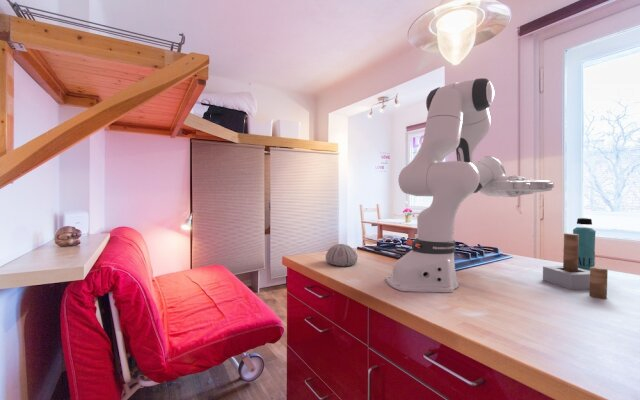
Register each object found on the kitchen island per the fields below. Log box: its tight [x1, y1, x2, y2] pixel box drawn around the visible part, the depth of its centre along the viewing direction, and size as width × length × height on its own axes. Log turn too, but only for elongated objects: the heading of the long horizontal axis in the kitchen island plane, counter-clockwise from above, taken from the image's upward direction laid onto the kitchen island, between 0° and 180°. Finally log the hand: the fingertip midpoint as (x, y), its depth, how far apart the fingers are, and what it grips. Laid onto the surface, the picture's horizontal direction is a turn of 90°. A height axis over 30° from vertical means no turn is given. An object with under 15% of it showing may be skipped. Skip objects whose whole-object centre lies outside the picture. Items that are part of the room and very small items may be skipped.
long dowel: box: [562, 233, 579, 272], centre depth 95 cm, size 4×4×16 cm
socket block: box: [542, 265, 590, 291], centre depth 95 cm, size 10×10×4 cm
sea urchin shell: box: [324, 243, 359, 267], centre depth 122 cm, size 13×14×8 cm
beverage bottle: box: [572, 217, 596, 271], centre depth 108 cm, size 6×7×20 cm
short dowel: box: [588, 266, 609, 299], centre depth 84 cm, size 4×4×8 cm
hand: (540, 185), depth 106 cm, fingers open, 8 cm apart
